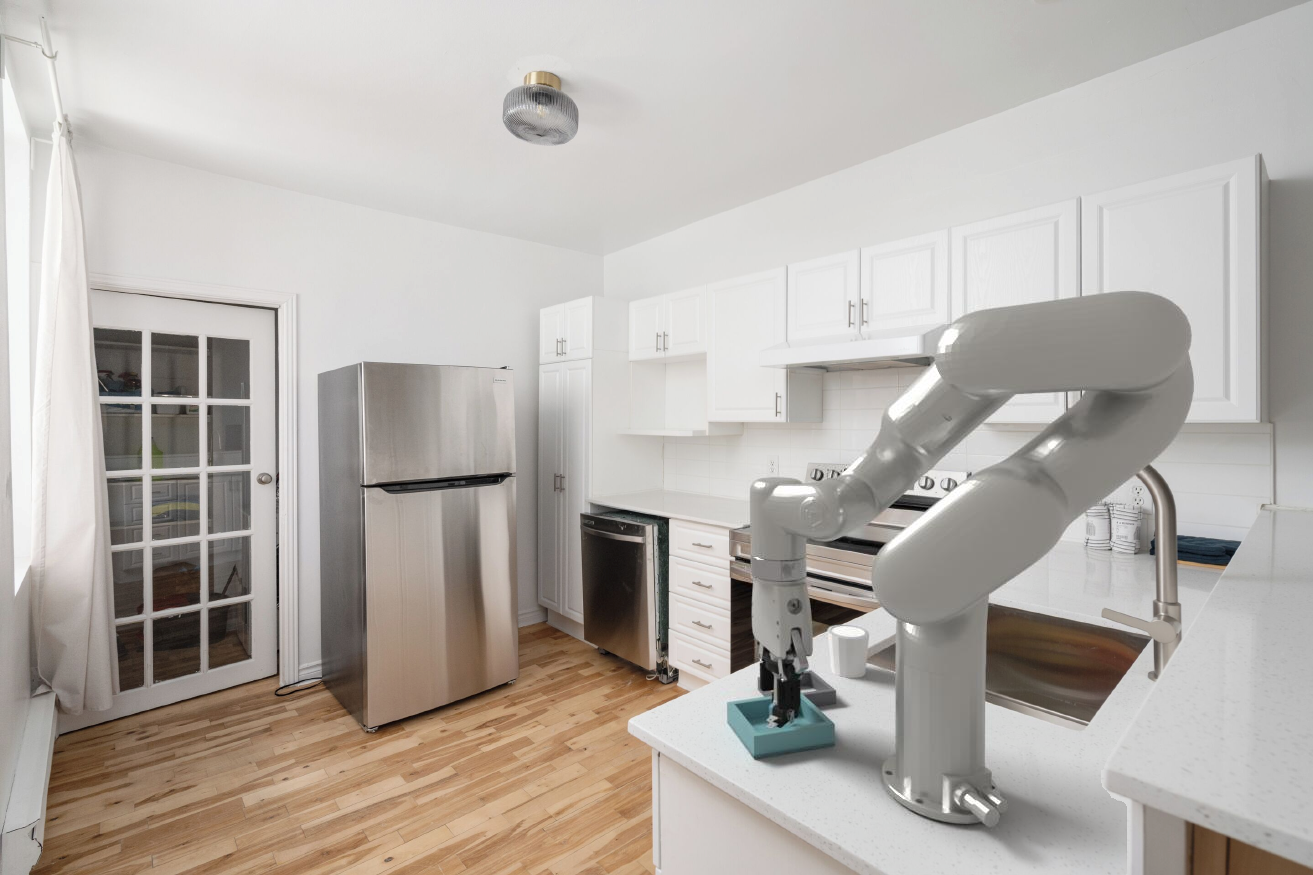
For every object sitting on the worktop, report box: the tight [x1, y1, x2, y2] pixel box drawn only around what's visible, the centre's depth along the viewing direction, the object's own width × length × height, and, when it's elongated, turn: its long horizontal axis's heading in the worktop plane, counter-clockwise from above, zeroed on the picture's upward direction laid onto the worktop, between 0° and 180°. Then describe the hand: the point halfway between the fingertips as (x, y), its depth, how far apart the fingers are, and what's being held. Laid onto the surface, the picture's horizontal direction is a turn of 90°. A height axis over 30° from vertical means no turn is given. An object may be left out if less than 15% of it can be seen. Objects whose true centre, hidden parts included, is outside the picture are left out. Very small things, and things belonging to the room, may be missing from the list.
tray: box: [726, 692, 836, 760], centre depth 84 cm, size 10×12×3 cm
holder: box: [757, 669, 837, 707], centre depth 95 cm, size 8×10×2 cm
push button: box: [764, 650, 799, 729], centre depth 83 cm, size 7×5×10 cm
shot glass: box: [827, 624, 870, 679], centre depth 104 cm, size 7×7×7 cm
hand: (779, 696), depth 83 cm, fingers closed on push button, 4 cm apart
